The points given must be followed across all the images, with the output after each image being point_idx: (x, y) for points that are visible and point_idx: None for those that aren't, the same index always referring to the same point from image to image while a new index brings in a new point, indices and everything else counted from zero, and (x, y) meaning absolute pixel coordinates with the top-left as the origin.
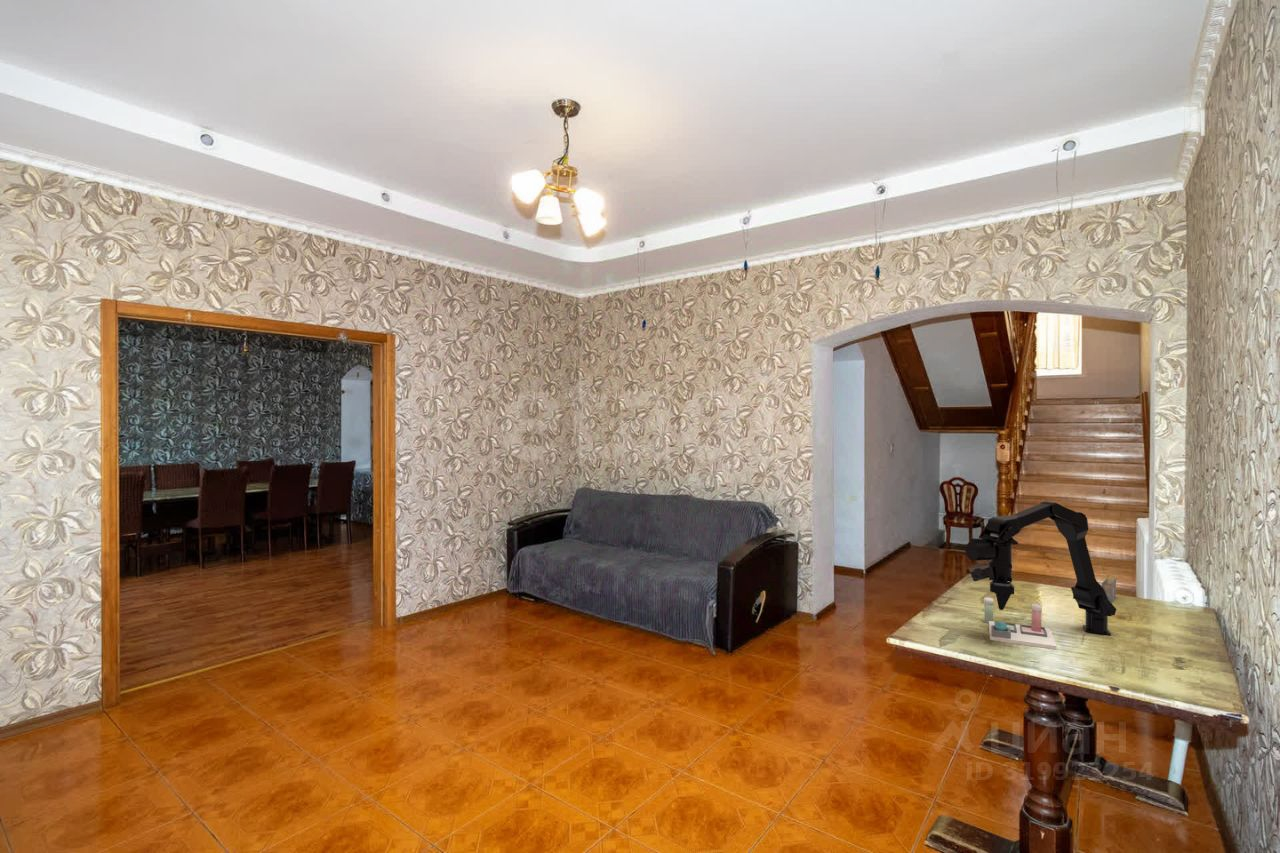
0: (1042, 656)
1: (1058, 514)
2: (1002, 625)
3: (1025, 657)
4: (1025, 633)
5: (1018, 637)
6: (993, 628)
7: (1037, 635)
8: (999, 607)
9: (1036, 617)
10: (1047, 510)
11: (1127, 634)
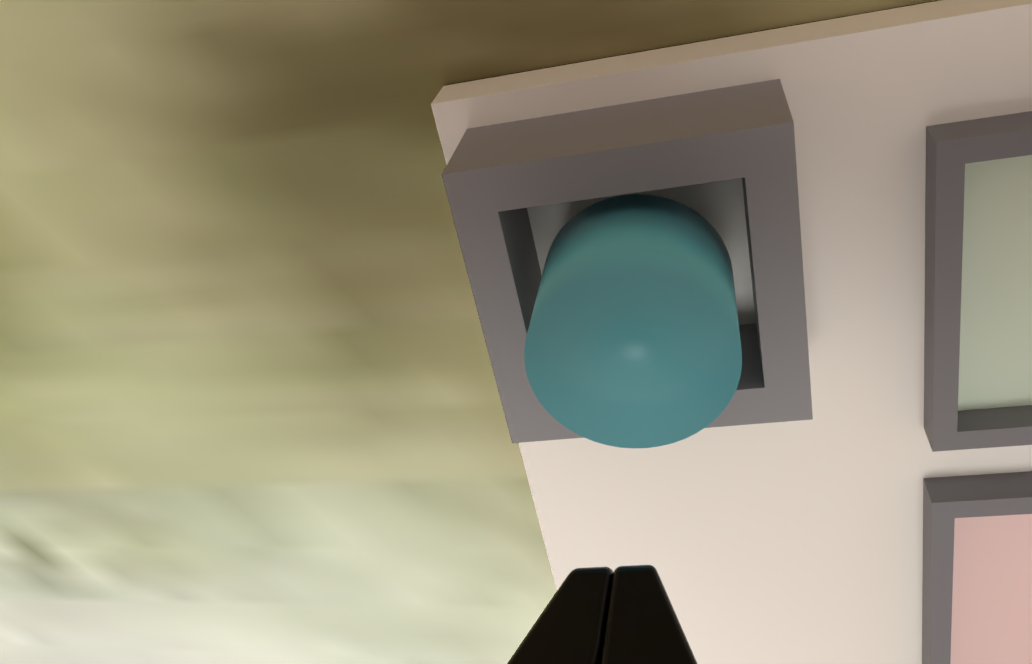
0: (263, 620)
1: None
2: (539, 385)
3: (87, 502)
4: (928, 530)
5: (684, 455)
6: (562, 189)
7: (925, 637)
8: (545, 625)
9: None
10: None
11: None
